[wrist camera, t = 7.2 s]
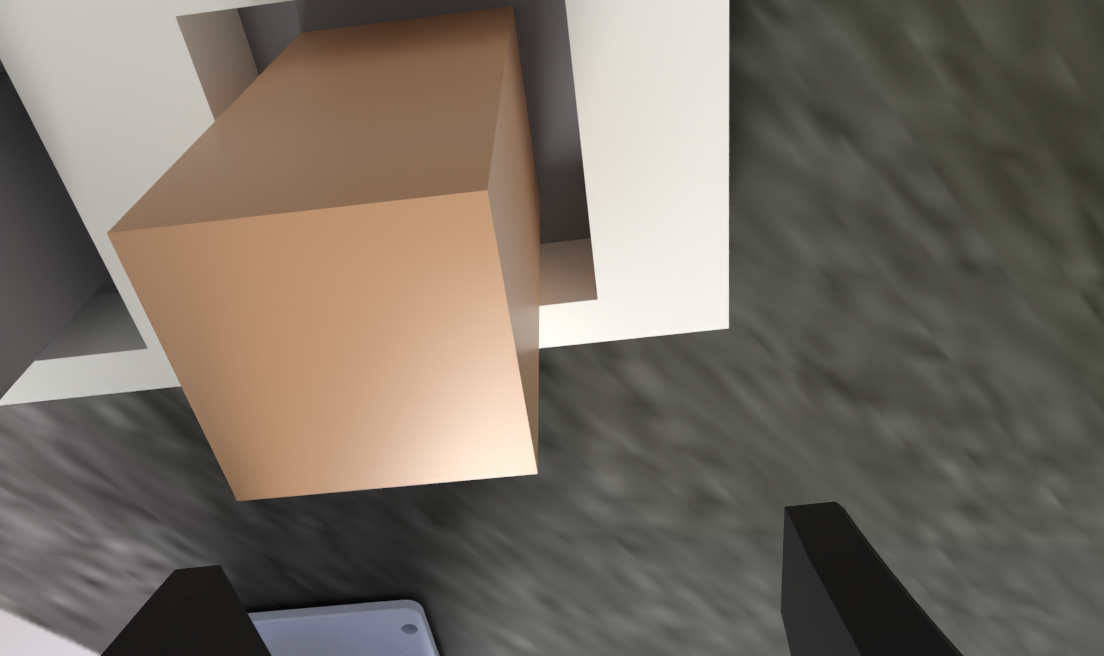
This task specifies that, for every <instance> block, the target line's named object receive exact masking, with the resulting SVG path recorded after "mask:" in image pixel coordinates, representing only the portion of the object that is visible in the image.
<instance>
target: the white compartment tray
mask: <svg viewBox="0 0 1104 656" xmlns="http://www.w3.org/2000/svg"><path fill="white" fill-rule="evenodd" d="M508 6H513V10H514V18H515V25H516V32H517V39H518V46H519V54H520V61H521V68H522V75H523V83H524V90H525V97H526V104H527V112H528V119H529V126H530V133H531V140H532V148H533V155H534V162H535V169H536V177H537V184H538V191H539V198H540V281H539V348H547V347H556V346H566V345H575V344H585V343H594V342H604V341H613V340H622V339H632V338H641V337H651V336H660V335H670V334H679V333H689V332H698V331H707V330H717V329H726V328H729V0H0V72H7V73H8V75H9V77H10V79H11V81H12V83H13V85H14V87H15V89H16V91H17V93H18V95H19V97H20V99H21V101H22V103H23V105H24V107H25V108H26V110H27V112H28V114H29V116H30V118H31V120H32V122H33V124H34V126H35V128H36V130H37V132H38V134H39V136H40V138H41V140H42V142H43V144H44V146H45V148H46V150H47V152H48V154H49V156H50V158H51V160H52V161H53V163H54V165H55V167H56V169H57V171H58V173H59V175H60V177H61V179H62V181H63V183H64V185H65V187H66V189H67V191H68V193H69V195H70V197H71V199H72V201H73V203H74V205H75V207H76V209H77V211H78V213H79V214H80V216H81V218H82V220H83V222H84V224H85V226H86V228H87V230H88V232H89V234H90V236H91V238H92V240H93V242H94V244H95V246H96V248H97V250H98V252H99V254H100V256H101V258H102V260H103V262H104V264H105V266H106V267H107V269H108V271H109V273H110V276H109V277H108V278H107V279H106V280H105V281H104V282H103V283H102V285H101V286H100V287H99V288H98V289H97V290H96V291H95V293H94V294H93V295H92V296H91V297H90V298H89V299H88V301H87V302H86V303H85V304H84V305H83V306H82V307H81V308H80V310H79V311H78V312H77V313H76V314H75V315H74V316H73V318H72V319H71V320H70V321H69V322H68V323H67V324H66V326H65V327H64V328H63V329H62V330H61V331H60V332H59V333H58V335H57V336H56V337H55V338H54V339H53V340H52V341H51V343H50V344H49V345H48V346H47V347H46V348H45V349H44V351H43V352H42V353H41V354H40V355H39V356H38V357H37V358H36V360H35V361H34V362H33V363H32V364H31V365H30V366H29V368H28V369H27V370H26V371H25V372H24V373H23V374H22V376H21V377H20V378H19V379H18V380H17V381H16V382H15V384H14V385H13V386H12V387H11V388H10V389H9V390H8V391H7V393H6V394H5V395H4V396H3V397H2V398H1V399H0V405H8V404H18V403H27V402H37V401H46V400H56V399H65V398H75V397H84V396H93V395H103V394H112V393H122V392H131V391H141V390H150V389H160V388H169V387H178V386H181V385H180V383H179V381H178V379H177V376H176V374H175V372H174V370H173V368H172V366H171V364H170V362H169V360H168V358H167V356H166V354H165V352H164V350H163V348H162V346H161V344H160V342H159V340H158V338H157V335H156V333H155V331H154V329H153V327H152V325H151V323H150V321H149V319H148V317H147V315H146V313H145V311H144V309H143V307H142V305H141V303H140V301H139V299H138V297H137V295H136V292H135V290H134V288H133V286H132V284H131V282H130V280H129V278H128V276H127V274H126V272H125V270H124V268H123V266H122V264H121V262H120V260H119V258H118V256H117V254H116V251H115V249H114V247H113V245H112V243H111V241H110V239H109V237H108V235H107V232H108V231H109V230H110V229H111V228H112V227H113V226H114V225H115V224H116V223H117V222H118V221H119V220H120V219H121V218H122V217H123V216H124V215H125V214H126V213H127V212H128V211H129V209H130V208H131V207H132V206H133V205H134V204H135V203H136V202H137V201H138V200H139V199H140V198H141V197H142V196H143V195H144V194H145V193H146V192H147V191H148V190H149V189H150V188H151V187H152V186H153V185H154V184H155V183H156V182H157V181H158V180H159V179H160V177H161V176H162V175H163V174H164V173H165V172H166V171H167V170H168V169H169V168H170V167H171V166H172V165H173V164H174V163H175V162H176V161H177V160H178V159H179V158H180V157H181V156H182V155H183V154H184V153H185V152H186V151H187V150H188V149H189V148H190V147H191V145H192V144H193V143H194V142H195V141H196V140H197V139H198V138H199V137H200V136H201V135H202V134H203V133H204V132H205V131H206V130H207V129H208V128H209V127H210V126H211V125H212V124H213V123H214V122H215V121H216V120H217V119H218V118H219V117H220V116H221V115H222V113H223V112H224V111H225V110H226V109H227V108H228V107H229V106H230V105H231V104H232V103H233V102H234V101H235V100H236V99H237V98H238V97H239V96H240V95H241V94H242V93H243V92H244V91H245V90H246V89H247V88H248V87H249V86H250V85H251V84H252V83H253V81H254V80H255V79H256V78H257V77H258V76H259V75H260V74H261V73H262V72H263V71H264V70H265V69H266V68H267V67H268V66H269V65H270V64H271V63H272V62H273V61H274V60H275V59H276V58H277V57H278V56H279V55H280V54H281V53H282V52H283V51H284V49H285V48H286V47H287V46H288V45H289V44H290V43H291V42H292V41H293V40H294V39H295V38H296V37H297V36H298V35H299V34H300V33H303V32H311V31H319V30H326V29H334V28H342V27H350V26H358V25H366V24H374V23H382V22H390V21H398V20H405V19H413V18H421V17H429V16H437V15H445V14H453V13H461V12H469V11H477V10H484V9H492V8H500V7H508Z"/></svg>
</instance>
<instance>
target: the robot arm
mask: <svg viewBox="0 0 1104 656" xmlns="http://www.w3.org/2000/svg"><path fill="white" fill-rule="evenodd" d="M781 613H782V618H783V622H784V626H785V631H786V635H787V639H788V644H789V648H790V652H791V656H963V655H962V654H961V653H960V652H959V650H958V649H957V648H956V647H955V646H954V645H953V644H952V642H951V641H950V640H949V639H948V638H947V637H946V636H945V635H944V633H943V632H942V631H941V630H940V629H939V628H938V627H937V625H936V624H935V623H934V622H933V621H932V620H931V619H930V617H929V616H928V615H927V614H926V613H925V611H924V610H923V609H922V608H921V607H920V605H919V604H918V603H917V602H916V601H915V600H914V598H913V597H912V596H911V595H910V593H909V592H908V591H907V590H906V588H905V587H904V586H903V585H902V584H901V582H900V581H899V580H898V579H897V577H896V576H895V575H894V574H893V572H892V571H891V570H890V569H889V567H888V566H887V565H886V564H885V562H884V561H883V560H882V559H881V557H880V556H879V555H878V553H877V552H876V551H875V549H874V548H873V547H872V546H871V544H870V543H869V542H868V540H867V539H866V538H865V536H864V535H863V534H862V532H861V531H860V530H859V528H858V527H857V526H856V524H855V523H854V521H853V520H852V519H851V517H850V516H849V514H848V513H847V512H846V510H845V509H844V508H843V507H842V506H841V505H839V504H838V503H836V502H827V503H817V504H807V505H798V506H788V507H785V513H784V540H783V567H782V595H781ZM101 656H439V653H438V650H437V647H436V644H435V641H434V639H433V636H432V633H431V630H430V627H429V624H428V621H427V618H426V615H425V613H424V610H423V608H422V606H421V605H420V604H419V603H417V602H416V601H412V600H394V601H382V602H371V603H359V604H348V605H336V606H325V607H313V608H302V609H290V610H279V611H267V612H255V613H247V611H246V610H245V608H244V606H243V604H242V603H241V601H240V599H239V597H238V595H237V594H236V592H235V590H234V588H233V587H232V585H231V583H230V581H229V580H228V578H227V576H226V574H225V573H224V571H223V569H222V567H221V565H215V566H206V567H196V568H186V569H177V570H174V572H173V573H172V574H171V575H170V576H169V577H168V578H167V579H166V580H165V582H164V583H163V584H162V585H161V586H160V587H159V588H158V589H157V591H156V592H155V593H154V594H153V595H152V596H151V597H150V599H149V600H148V601H147V602H146V603H145V604H144V606H143V607H142V608H141V609H140V610H139V611H138V613H137V614H136V615H135V616H134V617H133V618H132V620H131V621H130V622H129V623H128V624H127V625H126V627H125V628H124V629H123V630H122V631H121V633H120V634H119V635H118V636H117V637H116V638H115V640H114V641H113V642H112V643H111V644H110V645H109V647H108V648H107V649H106V650H105V651H104V652H103V654H102V655H101Z"/></svg>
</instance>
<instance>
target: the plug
mask: <svg viewBox="0 0 1104 656" xmlns="http://www.w3.org/2000/svg"><path fill="white" fill-rule="evenodd" d="M107 235H108V237H109V239H110V241H111V243H112V245H113V247H114V249H115V251H116V254H117V256H118V258H119V260H120V262H121V264H122V266H123V268H124V270H125V272H126V274H127V276H128V278H129V280H130V282H131V284H132V286H133V288H134V290H135V292H136V295H137V297H138V299H139V301H140V303H141V305H142V307H143V309H144V311H145V313H146V315H147V317H148V319H149V321H150V323H151V325H152V327H153V329H154V331H155V333H156V335H157V338H158V340H159V342H160V344H161V346H162V348H163V350H164V352H165V354H166V356H167V358H168V360H169V362H170V364H171V366H172V368H173V370H174V372H175V374H176V376H177V379H178V381H179V383H180V385H181V387H182V389H183V391H184V393H185V395H186V397H187V399H188V401H189V403H190V405H191V407H192V409H193V411H194V413H195V415H196V417H197V420H198V422H199V424H200V426H201V428H202V430H203V432H204V434H205V436H206V438H207V440H208V442H209V444H210V446H211V448H212V450H213V452H214V454H215V456H216V458H217V460H218V463H219V465H220V467H221V469H222V471H223V473H224V475H225V477H226V479H227V481H228V483H229V485H230V487H231V489H232V491H233V493H234V495H235V497H236V499H237V501H245V500H256V499H267V498H278V497H289V496H300V495H311V494H322V493H333V492H344V491H355V490H366V489H377V488H388V487H399V486H410V485H421V484H432V483H443V482H454V481H465V480H476V479H487V478H498V477H509V476H520V475H531V474H538V391H539V281H540V198H539V191H538V184H537V177H536V169H535V162H534V155H533V148H532V140H531V133H530V126H529V119H528V112H527V104H526V97H525V90H524V83H523V75H522V68H521V61H520V54H519V46H518V39H517V32H516V25H515V18H514V10H513V6H508V7H500V8H492V9H484V10H477V11H469V12H461V13H453V14H445V15H437V16H429V17H421V18H413V19H405V20H398V21H390V22H382V23H374V24H366V25H358V26H350V27H342V28H334V29H326V30H319V31H311V32H303V33H300V34H299V35H298V36H297V37H296V38H295V39H294V40H293V41H292V42H291V43H290V44H289V45H288V46H287V47H286V48H285V49H284V51H283V52H282V53H281V54H280V55H279V56H278V57H277V58H276V59H275V60H274V61H273V62H272V63H271V64H270V65H269V66H268V67H267V68H266V69H265V70H264V71H263V72H262V73H261V74H260V75H259V76H258V77H257V78H256V79H255V80H254V81H253V83H252V84H251V85H250V86H249V87H248V88H247V89H246V90H245V91H244V92H243V93H242V94H241V95H240V96H239V97H238V98H237V99H236V100H235V101H234V102H233V103H232V104H231V105H230V106H229V107H228V108H227V109H226V110H225V111H224V112H223V113H222V115H221V116H220V117H219V118H218V119H217V120H216V121H215V122H214V123H213V124H212V125H211V126H210V127H209V128H208V129H207V130H206V131H205V132H204V133H203V134H202V135H201V136H200V137H199V138H198V139H197V140H196V141H195V142H194V143H193V144H192V145H191V147H190V148H189V149H188V150H187V151H186V152H185V153H184V154H183V155H182V156H181V157H180V158H179V159H178V160H177V161H176V162H175V163H174V164H173V165H172V166H171V167H170V168H169V169H168V170H167V171H166V172H165V173H164V174H163V175H162V176H161V177H160V179H159V180H158V181H157V182H156V183H155V184H154V185H153V186H152V187H151V188H150V189H149V190H148V191H147V192H146V193H145V194H144V195H143V196H142V197H141V198H140V199H139V200H138V201H137V202H136V203H135V204H134V205H133V206H132V207H131V208H130V209H129V211H128V212H127V213H126V214H125V215H124V216H123V217H122V218H121V219H120V220H119V221H118V222H117V223H116V224H115V225H114V226H113V227H112V228H111V229H110V230H109V231H108V232H107Z"/></svg>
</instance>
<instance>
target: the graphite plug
mask: <svg viewBox="0 0 1104 656" xmlns="http://www.w3.org/2000/svg"><path fill="white" fill-rule="evenodd" d="M109 276H110V273H109V271H108V269H107V267H106V266H105V264H104V262H103V260H102V258H101V256H100V254H99V252H98V250H97V248H96V246H95V244H94V242H93V240H92V238H91V236H90V234H89V232H88V230H87V228H86V226H85V224H84V222H83V220H82V218H81V216H80V214H79V213H78V211H77V209H76V207H75V205H74V203H73V201H72V199H71V197H70V195H69V193H68V191H67V189H66V187H65V185H64V183H63V181H62V179H61V177H60V175H59V173H58V171H57V169H56V167H55V165H54V163H53V161H52V160H51V158H50V156H49V154H48V152H47V150H46V148H45V146H44V144H43V142H42V140H41V138H40V136H39V134H38V132H37V130H36V128H35V126H34V124H33V122H32V120H31V118H30V116H29V114H28V112H27V110H26V108H25V107H24V105H23V103H22V101H21V99H20V97H19V95H18V93H17V91H16V89H15V87H14V85H13V83H12V81H11V79H10V77H9V75H8V73H7V72H0V399H1V398H2V397H3V396H4V395H5V394H6V393H7V391H8V390H9V389H10V388H11V387H12V386H13V385H14V384H15V382H16V381H17V380H18V379H19V378H20V377H21V376H22V374H23V373H24V372H25V371H26V370H27V369H28V368H29V366H30V365H31V364H32V363H33V362H34V361H35V360H36V358H37V357H38V356H39V355H40V354H41V353H42V352H43V351H44V349H45V348H46V347H47V346H48V345H49V344H50V343H51V341H52V340H53V339H54V338H55V337H56V336H57V335H58V333H59V332H60V331H61V330H62V329H63V328H64V327H65V326H66V324H67V323H68V322H69V321H70V320H71V319H72V318H73V316H74V315H75V314H76V313H77V312H78V311H79V310H80V308H81V307H82V306H83V305H84V304H85V303H86V302H87V301H88V299H89V298H90V297H91V296H92V295H93V294H94V293H95V291H96V290H97V289H98V288H99V287H100V286H101V285H102V283H103V282H104V281H105V280H106V279H107V278H108V277H109Z"/></svg>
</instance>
